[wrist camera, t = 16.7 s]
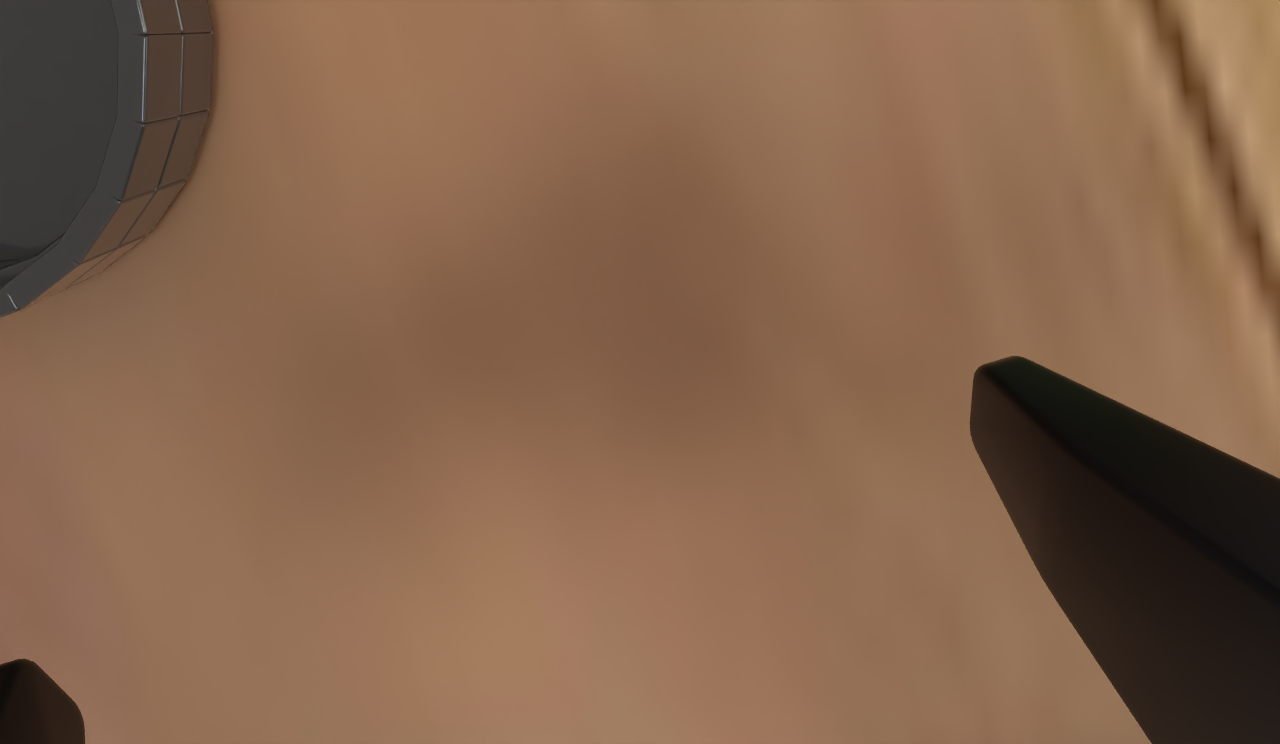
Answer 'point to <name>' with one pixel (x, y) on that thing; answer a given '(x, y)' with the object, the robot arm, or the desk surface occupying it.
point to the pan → (93, 131)
